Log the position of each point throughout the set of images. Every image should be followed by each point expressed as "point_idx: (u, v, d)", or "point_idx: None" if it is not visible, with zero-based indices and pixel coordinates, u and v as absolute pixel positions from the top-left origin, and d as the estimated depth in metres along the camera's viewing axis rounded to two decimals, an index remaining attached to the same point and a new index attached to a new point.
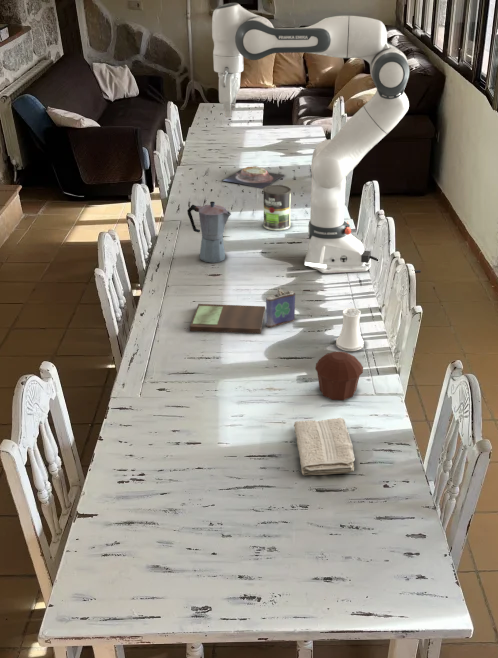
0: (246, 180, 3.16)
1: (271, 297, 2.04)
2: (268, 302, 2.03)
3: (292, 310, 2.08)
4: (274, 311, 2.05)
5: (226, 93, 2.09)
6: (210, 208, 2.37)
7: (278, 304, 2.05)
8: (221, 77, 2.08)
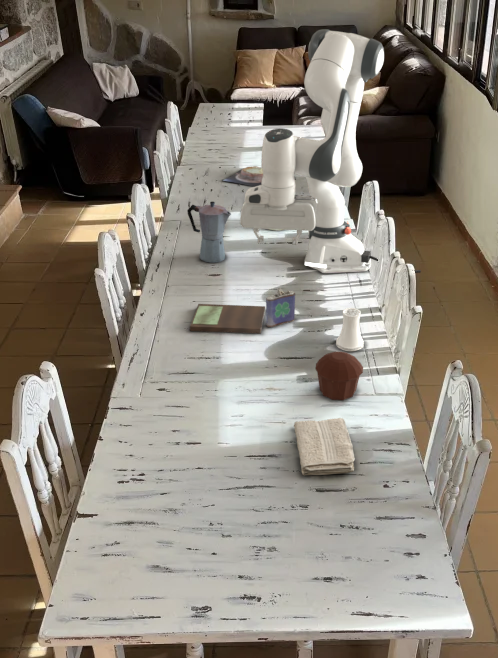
0: (246, 180, 3.16)
1: (271, 297, 2.04)
2: (268, 302, 2.03)
3: (292, 310, 2.08)
4: (274, 311, 2.05)
5: None
6: (210, 208, 2.37)
7: (278, 304, 2.05)
8: (310, 204, 1.91)
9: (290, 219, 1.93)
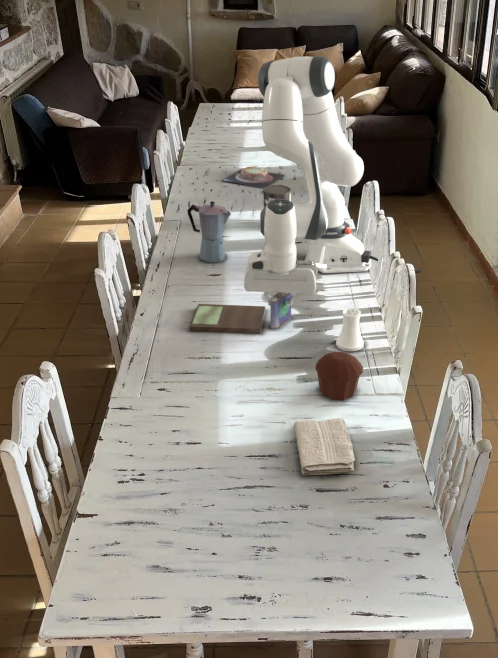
0: (246, 180, 3.16)
1: (275, 299, 2.03)
2: (274, 304, 2.02)
3: (290, 307, 2.10)
4: (278, 311, 2.05)
5: None
6: (210, 208, 2.37)
7: (281, 304, 2.05)
8: (310, 269, 1.99)
9: (292, 283, 2.01)
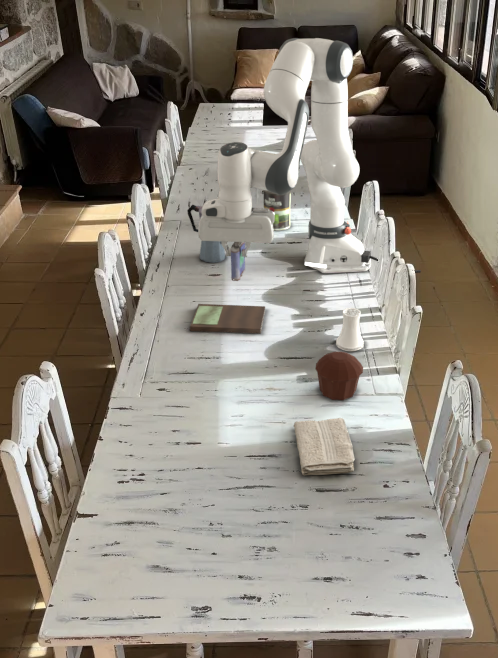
0: None
1: (235, 249, 1.96)
2: (236, 254, 1.95)
3: (244, 258, 2.04)
4: (239, 262, 1.98)
5: None
6: None
7: (240, 254, 1.98)
8: (267, 217, 1.92)
9: (248, 232, 1.94)
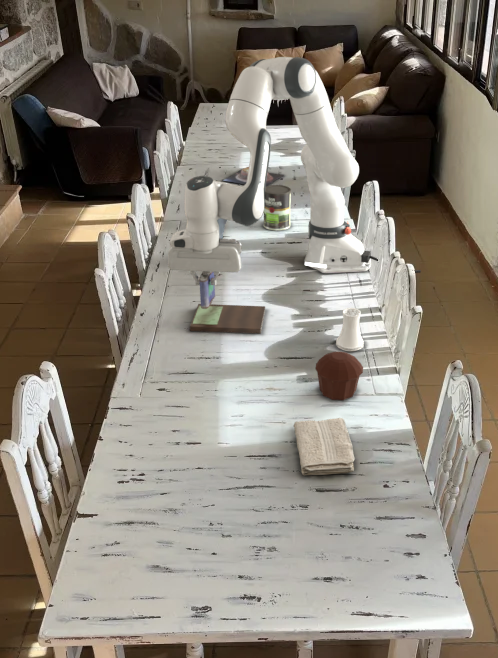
0: (246, 180, 3.16)
1: (203, 278, 2.01)
2: (205, 283, 2.01)
3: (214, 285, 2.09)
4: (208, 290, 2.03)
5: (240, 259, 2.01)
6: None
7: (208, 283, 2.04)
8: (234, 247, 1.97)
9: (216, 262, 1.99)
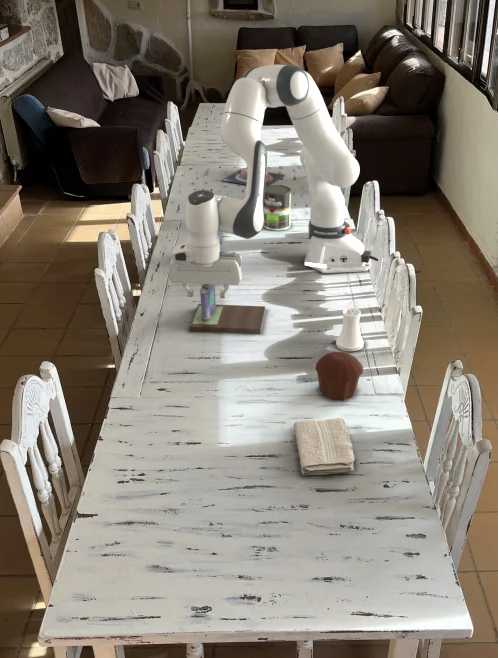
0: (246, 180, 3.16)
1: (204, 290, 2.03)
2: (205, 295, 2.03)
3: None
4: (209, 302, 2.06)
5: (240, 272, 2.03)
6: None
7: (209, 295, 2.06)
8: (234, 260, 1.99)
9: (216, 275, 2.01)
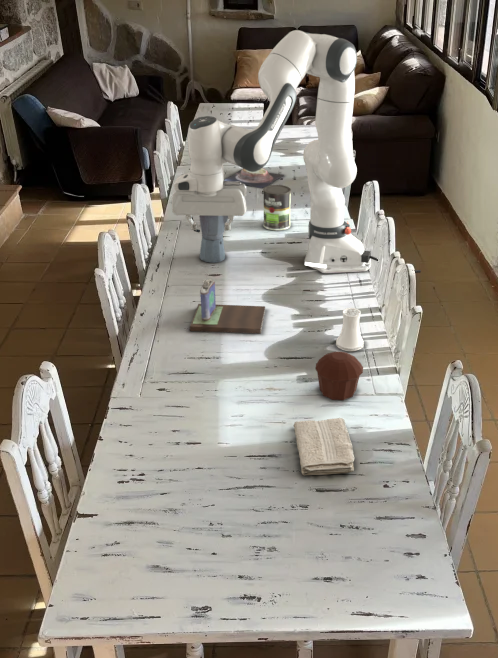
0: (246, 180, 3.16)
1: (204, 290, 2.03)
2: (205, 295, 2.03)
3: None
4: (209, 302, 2.06)
5: (245, 202, 1.98)
6: None
7: (209, 295, 2.06)
8: (238, 189, 1.95)
9: (220, 205, 1.97)
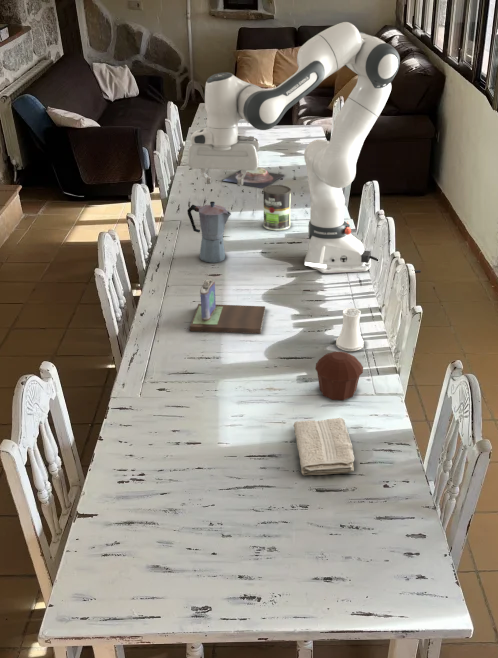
0: (246, 180, 3.16)
1: (204, 290, 2.03)
2: (205, 295, 2.03)
3: None
4: (209, 302, 2.06)
5: None
6: (210, 208, 2.37)
7: (209, 295, 2.06)
8: (252, 144, 2.04)
9: (234, 159, 2.06)
